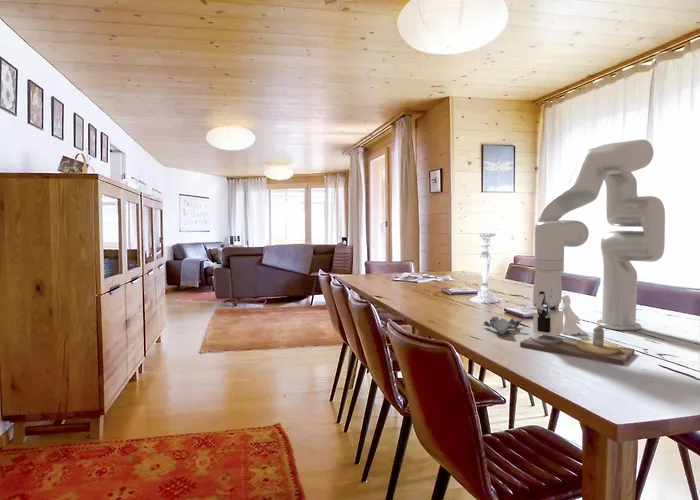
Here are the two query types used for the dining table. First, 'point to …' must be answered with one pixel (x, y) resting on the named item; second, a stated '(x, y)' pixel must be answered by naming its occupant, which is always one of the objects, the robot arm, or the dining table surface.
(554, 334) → the collar
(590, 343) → the workboard
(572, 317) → the figurine
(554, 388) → the dining table surface
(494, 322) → the toy
